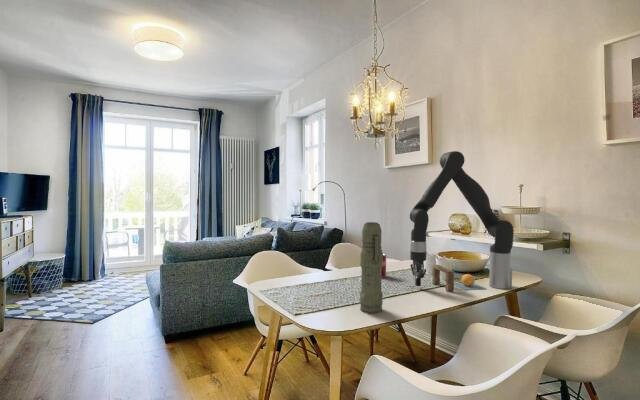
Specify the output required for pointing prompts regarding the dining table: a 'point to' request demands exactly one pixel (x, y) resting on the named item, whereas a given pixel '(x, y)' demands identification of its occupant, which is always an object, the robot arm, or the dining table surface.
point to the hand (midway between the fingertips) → (417, 285)
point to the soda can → (383, 270)
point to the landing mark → (473, 287)
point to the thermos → (371, 269)
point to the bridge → (448, 277)
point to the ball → (468, 280)
